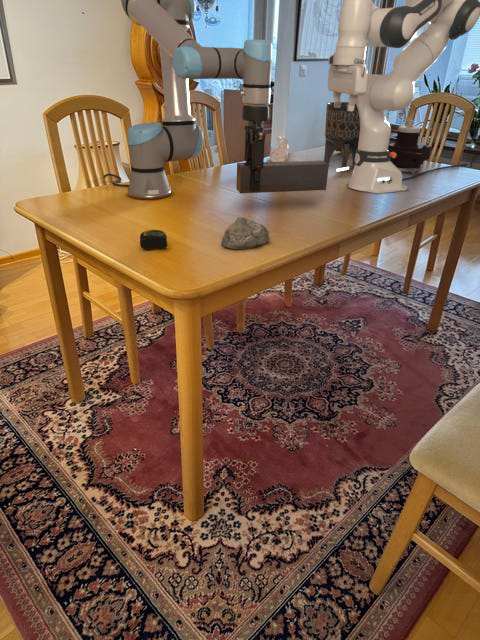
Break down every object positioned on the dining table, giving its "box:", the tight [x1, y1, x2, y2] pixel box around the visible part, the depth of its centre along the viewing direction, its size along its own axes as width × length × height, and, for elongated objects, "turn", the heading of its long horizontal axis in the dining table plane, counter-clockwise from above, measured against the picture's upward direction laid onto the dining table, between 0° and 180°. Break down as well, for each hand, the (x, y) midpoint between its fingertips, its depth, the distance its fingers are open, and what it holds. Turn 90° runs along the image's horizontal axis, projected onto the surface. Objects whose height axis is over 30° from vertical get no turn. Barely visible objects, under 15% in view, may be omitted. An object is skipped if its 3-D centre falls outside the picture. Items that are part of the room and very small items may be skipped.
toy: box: [335, 147, 352, 155], centre depth 240 cm, size 11×6×15 cm
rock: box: [221, 216, 270, 250], centre depth 119 cm, size 13×9×6 cm, turn 131°
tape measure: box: [139, 229, 168, 250], centre depth 117 cm, size 7×7×4 cm
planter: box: [323, 101, 360, 172], centre depth 204 cm, size 20×20×26 cm
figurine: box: [265, 134, 290, 162], centre depth 208 cm, size 8×15×13 cm, turn 145°
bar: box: [236, 160, 330, 194], centre depth 138 cm, size 28×5×8 cm, turn 104°
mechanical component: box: [388, 119, 433, 174], centre depth 204 cm, size 22×21×30 cm
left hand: (252, 188), depth 138 cm, fingers closed on bar, 5 cm apart
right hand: (343, 109), depth 143 cm, fingers open, 8 cm apart
